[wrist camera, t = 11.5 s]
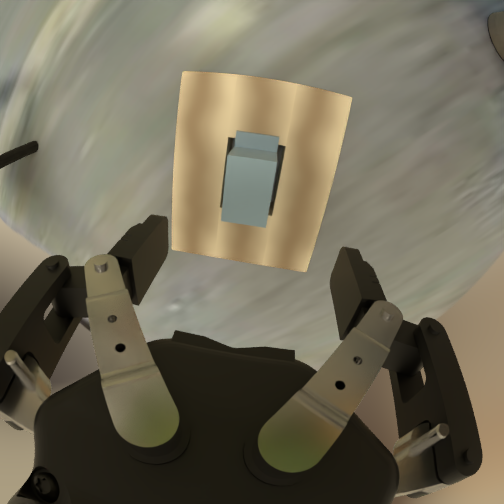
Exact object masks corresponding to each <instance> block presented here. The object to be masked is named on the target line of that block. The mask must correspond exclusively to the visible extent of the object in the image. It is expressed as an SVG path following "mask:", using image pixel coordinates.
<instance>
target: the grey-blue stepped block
mask: <svg viewBox="0 0 504 504" xmlns="http://www.w3.org/2000/svg"><path fill="white" fill-rule="evenodd" d="M278 143H279V136H273V135H266V134H259V133H252V132H245V131H236V137H235V146H234V148H233V149H232V150H231V151H230V153H229V154H228V156H227V165H226V174H225V184H224V193H223V204H222V214H221V221H224V222H230V223H237V224H244V225H250V226H257V227H263V228H266V224H267V218H268V213H269V207H270V201H271V196H272V190H273V184H274V178H275V173H276V167H277V149H278Z"/></svg>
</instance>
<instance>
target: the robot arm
mask: <svg viewBox="0 0 504 504" xmlns="http://www.w3.org/2000/svg"><path fill="white" fill-rule="evenodd" d="M488 28H489V33H490V36H491V39H492V42H493V44H494V46H495V48H496V50H497V52H498V53H499V55H500V56H501V58H502V59H503V60H504V11H502V12H495V13H492V14H491V15H490V16H489V19H488ZM167 253H168V219H167V217H165V216H158V215H150V216H149V217H148V218H147V219H146V220H145V222H144V223H143V224H141V223H139V224H137V225H135V226H133V227H131V228H130V229H129V230H128V231H127V232H126V233H125V235H124V236H123V237H122V238H121V240H119V241H118V242H117V243H116V245H115V246H114V247H113V248H112V249H111V250H110V251H109V253H108V254H101V255H97V256H94V257H92V258H90V259H89V260H88V261H87V262H86V264H85V266H69V263H68V259H67V258H66V257H65V256H62V255H55V256H51V257H49V258H47V259H45V260H44V261H43V262H42V263H41V264H40V265H39V266H38V267H37V268H36V269H35V270H34V272H33V273H32V274H31V275H30V276H29V278H28V279H27V280H26V281H25V282H24V283H23V285H22V286H21V287H20V288H19V289H18V291H17V292H16V293H15V294H14V296H13V297H12V299H11V300H10V301H9V302H8V303H7V305H6V306H5V308H4V309H3V310H2V312H1V313H0V419H2V420H4V421H5V422H7V423H8V424H9V425H10V426H11V427H13V428H14V429H17V430H23V429H25V430H26V431H28V432H29V433H31V434H33V435H34V440H35V459H34V467H33V471H32V473H31V475H30V477H29V478H28V480H27V481H26V482H25V483H24V485H23V486H22V487H21V488H20V490H18V491H17V492H16V493H15V495H14V496H13V497H12V498H11V499H10V500H9V502H8V504H391V503H392V501H393V499H394V497H397V496H403V495H407V496H408V497H411V498H418V497H421V496H424V495H427V494H429V493H432V492H435V491H438V490H440V489H442V488H445V487H447V486H450V485H452V484H454V483H456V482H459V481H461V480H463V479H465V478H467V477H469V476H471V475H473V474H475V473H476V472H477V471H478V470H479V468H480V466H481V463H482V449H481V443H480V438H479V434H478V429H477V425H476V420H475V416H474V412H473V408H472V405H471V401H470V398H469V394H468V391H467V388H466V384H465V381H464V378H463V375H462V372H461V369H460V366H459V364H458V361H457V358H456V355H455V353H454V351H453V348H452V345H451V343H450V340H449V338H448V335H447V333H446V331H445V329H444V327H443V326H442V325H441V324H440V323H439V322H438V321H436V320H435V319H432V318H428V317H426V318H423V319H422V320H421V321H420V323H419V324H418V325H416V324H413V323H410V322H408V321H405V320H403V315H402V313H401V311H400V310H399V309H398V308H397V307H396V306H395V305H394V304H392V303H390V302H387V300H386V298H385V295H384V293H383V290H382V288H381V285H380V284H379V281H378V278H376V277H377V276H376V274H375V271H374V269H373V268H372V267H371V266H370V265H369V264H368V263H367V262H366V261H363V259H362V256H361V254H360V252H359V250H358V249H353V248H348V247H342V248H341V250H340V252H339V255H338V258H337V261H336V263H335V266H334V269H333V271H332V274H331V279H330V289H331V294H332V299H333V304H334V309H335V314H336V320H337V325H338V331H339V337H340V340H343V342H342V343H341V344H340V345H339V347H338V348H337V349H336V350H335V351H334V353H333V354H332V355H331V356H330V357H329V359H328V360H327V361H326V362H325V363H324V365H323V366H322V367H321V368H320V369H319V370H318V371H316V370H315V369H313V368H312V367H310V366H308V365H307V364H305V363H303V362H301V361H298V360H295V350H287V349H279V348H272V347H251V348H232V347H229V346H226V345H224V344H221V343H219V342H217V341H214V340H212V339H209V338H207V337H205V336H200V335H195V334H191V333H186V332H181V331H177V330H175V332H174V335H173V337H172V339H160V340H154V341H151V342H148V343H146V341H145V338H144V335H143V333H142V330H141V327H140V325H139V322H138V319H137V316H136V314H135V311H134V308H133V305H132V304H135V305H139V304H140V303H141V301H142V299H143V297H144V295H145V294H146V292H147V290H148V288H149V287H150V285H151V283H152V281H153V280H154V278H155V276H156V274H157V273H158V271H159V269H160V268H161V266H162V264H163V263H164V261H165V259H166V257H167ZM50 303H52V305H53V308H52V310H51V311H50V313H49V314H48V316H47V317H46V319H45V320H44V319H43V318H44V313H45V311H46V309H47V308H48V306H49V305H50ZM82 317H85V318H89V324H90V330H91V335H92V340H93V345H94V349H95V354H96V359H97V363H98V367H99V369H98V370H96V371H95V372H93V373H91V374H89V375H87V376H86V377H84V378H82V379H80V380H78V381H76V382H75V383H73V384H71V385H69V386H67V387H65V388H63V389H62V390H60V391H58V392H56V393H54V394H52V395H51V396H50V394H51V382H50V378H51V376H52V374H53V372H54V370H55V368H56V365H57V364H58V362H59V360H60V358H61V356H62V354H63V352H64V350H65V348H66V346H67V344H68V342H69V340H70V338H71V337H72V335H73V333H74V331H75V330H76V328H77V326H78V324H79V323H80V321H81V319H82ZM381 367H383V368H386V369H389V373H390V379H391V384H392V390H393V396H394V402H395V410H396V417H397V425H398V433H399V440H398V441H397V442H396V443H395V446H394V449H393V454H391V453H390V451H389V450H388V449H387V448H386V447H385V446H384V445H383V444H382V443H381V441H380V440H379V439H378V438H377V437H376V436H375V435H374V434H373V433H372V432H371V431H370V430H369V428H368V427H367V426H366V425H365V424H364V423H363V422H362V421H361V419H360V418H359V417H358V416H357V415H356V414H355V413H354V411H355V410H356V408H357V406H358V405H359V403H360V402H361V400H362V399H363V397H364V395H365V394H366V392H367V391H368V389H369V388H370V386H371V384H372V383H373V381H374V379H375V377H376V375H377V374H378V372H379V370H380V369H381ZM423 367H424V371H425V374H426V382H425V385H424V383H423V379H422V376H421V372H420V370H421V369H422V368H423Z"/></svg>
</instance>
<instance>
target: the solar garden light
mask: <svg viewBox="0 0 504 504" xmlns="http://www.w3.org/2000/svg"><path fill="white" fill-rule="evenodd" d="M37 150H38V143H37V142H36V141H32V142H30V143H27V144H25V145H22V146H20V147H17V148H15V149H13V150H10V151H8V152H6V153H4V154H2V155H0V169H1V168H3V167H5V166H7V165H9V164H11V163H13V162H15V161H17V160H19V159H21V158H23V157H25V156H27V155H30V154H32V153H34V152H37Z"/></svg>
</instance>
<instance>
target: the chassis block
mask: <svg viewBox="0 0 504 504" xmlns="http://www.w3.org/2000/svg"><path fill="white" fill-rule="evenodd" d="M351 102H352V97H348V96H345V95H341V94H338V93H334V92H330V91H326V90H322V89H318V88H314V87H310V86H305V85H300V84H296V83H291V82H285V81H280V80H274V79H267V78H261V77H253V76H245V75H236V74H226V73H212V72H191V71H183V73H182V81H181V89H180V97H179V106H178V116H177V127H176V139H175V153H174V170H173V194H172V250H177V251H183V252H189V253H194V254H200V255H206V256H212V257H217V258H223V259H229V260H235V261H241V262H247V263H253V264H259V265H265V266H271V267H277V268H283V269H289V270H295V271H302V272H306V271H307V268H308V265H309V262H310V259H311V255H312V252H313V249H314V246H315V242H316V239H317V236H318V232H319V229H320V226H321V222H322V219H323V215H324V212H325V208H326V204H327V201H328V197H329V194H330V190H331V186H332V182H333V178H334V175H335V171H336V167H337V163H338V159H339V155H340V151H341V147H342V142H343V138H344V134H345V129H346V125H347V120H348V116H349V111H350V107H351ZM236 131H245V132H252V133H259V134H266V135H273V136H279V143H278V149H277V167H276V173H275V178H274V184H273V190H272V196H271V201H270V207H269V213H268V218H267V224H266V228H263V227H257V226H250V225H244V224H237V223H230V222H224V221H221V214H222V204H223V193H224V184H225V174H226V165H227V156H228V154H229V153H230V151H231V150H232V149H233V148H234V146H235V137H236Z"/></svg>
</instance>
